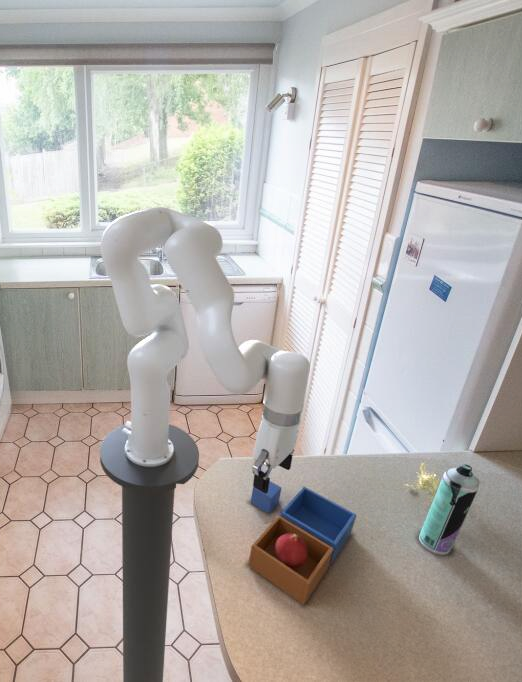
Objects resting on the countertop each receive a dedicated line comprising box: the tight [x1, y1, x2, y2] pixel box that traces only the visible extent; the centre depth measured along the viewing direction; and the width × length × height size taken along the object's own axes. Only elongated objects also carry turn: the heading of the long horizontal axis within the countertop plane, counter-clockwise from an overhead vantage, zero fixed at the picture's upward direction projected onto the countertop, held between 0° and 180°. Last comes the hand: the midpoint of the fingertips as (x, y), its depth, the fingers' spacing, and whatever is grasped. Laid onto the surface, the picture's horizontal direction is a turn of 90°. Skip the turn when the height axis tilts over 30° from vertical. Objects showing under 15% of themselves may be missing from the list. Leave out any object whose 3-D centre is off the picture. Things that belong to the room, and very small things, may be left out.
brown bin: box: [247, 514, 334, 606], centre depth 85 cm, size 11×10×6 cm
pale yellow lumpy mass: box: [403, 458, 442, 505], centre depth 100 cm, size 11×15×9 cm
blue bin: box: [279, 486, 357, 566], centre depth 92 cm, size 11×10×6 cm
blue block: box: [250, 480, 283, 514], centre depth 100 cm, size 4×4×4 cm
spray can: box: [418, 464, 481, 556], centre depth 87 cm, size 6×6×20 cm
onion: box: [275, 533, 308, 568], centre depth 85 cm, size 6×6×8 cm
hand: (271, 477), depth 98 cm, fingers open, 9 cm apart
